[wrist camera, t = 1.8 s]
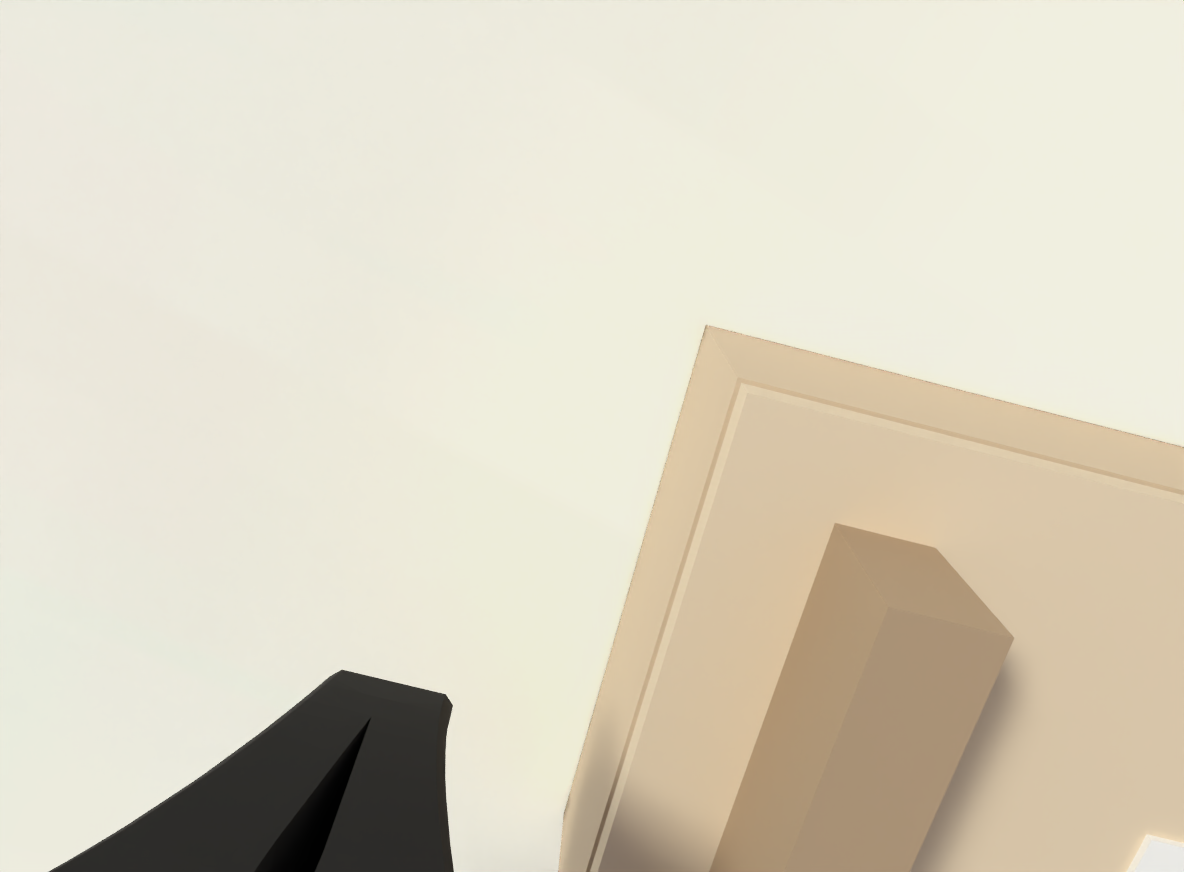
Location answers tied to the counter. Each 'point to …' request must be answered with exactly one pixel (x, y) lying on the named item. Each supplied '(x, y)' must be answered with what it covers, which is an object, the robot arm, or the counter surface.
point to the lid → (910, 663)
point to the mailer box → (690, 474)
